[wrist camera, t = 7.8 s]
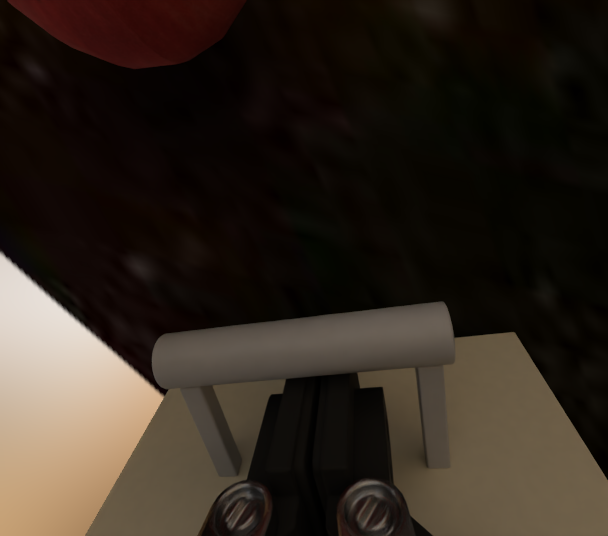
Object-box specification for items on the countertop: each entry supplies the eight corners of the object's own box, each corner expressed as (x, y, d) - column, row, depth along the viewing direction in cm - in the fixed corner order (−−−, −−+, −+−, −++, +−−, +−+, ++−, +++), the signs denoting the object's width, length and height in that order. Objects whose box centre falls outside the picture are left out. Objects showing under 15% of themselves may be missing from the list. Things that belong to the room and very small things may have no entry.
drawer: (139, 265, 15) (-69, 456, 8) (518, 206, 12) (766, 406, 5) (264, 554, 23) (224, 782, 16) (508, 554, 21) (597, 826, 13)
